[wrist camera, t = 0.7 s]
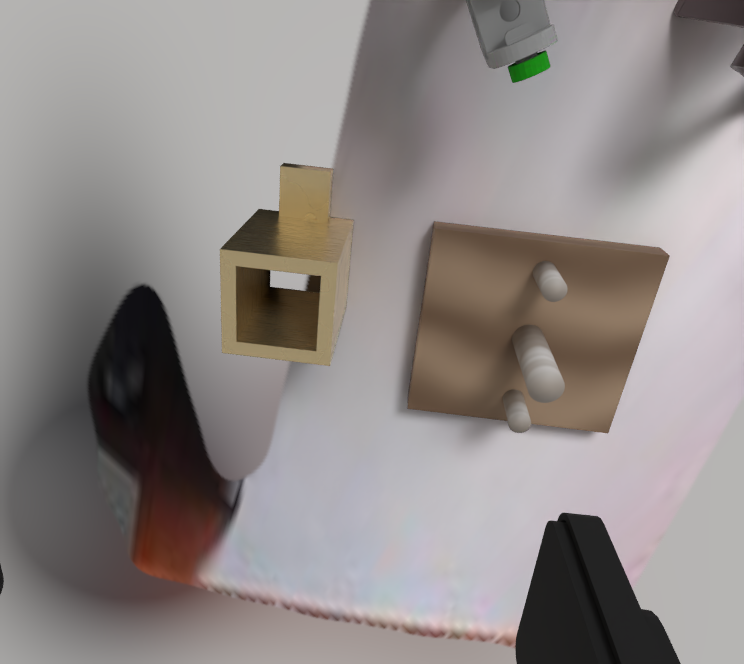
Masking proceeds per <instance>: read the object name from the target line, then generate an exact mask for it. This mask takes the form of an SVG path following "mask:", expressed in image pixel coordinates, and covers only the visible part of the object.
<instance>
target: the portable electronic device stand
mask: <svg viewBox="0 0 744 664" xmlns="http://www.w3.org/2000/svg"><path fill="white" fill-rule="evenodd" d="M674 12H675V14H676V15H677V16H678V17H684V18H690V19H696V20H702V21H708V22H714V23H720V24H726V25H732V26H738V27H744V0H679V1H678V2H677V4H676V7H675V11H674ZM731 68H732V69H734V70H735V71H737V72H739V73H740V74H741V75H742V76H744V45H743V46H742V48H741V50H740V51H739V53H738V54H737V56H736V58H735V59H734V61H733V63H732V64H731Z"/></svg>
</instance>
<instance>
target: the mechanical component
mask: <svg viewBox="0 0 744 664" xmlns="http://www.w3.org/2000/svg"><path fill="white" fill-rule="evenodd" d="M466 2H467V5H468V9H469V12H470V15H471V18H472V21H473V25H474V28H475V31H476V34H477V37H478V40H479V44H480V47H481V50H482V52H483V55H484V58H485V60H486V62H487V64H488V66H489V67H490V68H493V69H495V68H499V67H502V66H505V65H507V64H510V63H512V62H515V63H513V64H512V65H510V66H508V70H509V73H510V76H511V79H512V82H513V83H515V82H519V81H522V80H525V79H527V78H530V77H532V76H535V75H537V74H539V73H541V72H543V71H545V70H547V69H548V68H550V63H549V60H548V56H547V52H546V51H542V52H539V53H537V52H538V51H540V50H542V49H544V48H546V47H548V46H550V45H552V44H554V43H555V42H557V41H558V40H557V36H556V32H555V29H554V25H550V22H549V18H548V14H547V10H546V7H545V3H544V0H466Z"/></svg>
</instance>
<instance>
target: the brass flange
mask: <svg viewBox="0 0 744 664" xmlns="http://www.w3.org/2000/svg"><path fill="white" fill-rule="evenodd" d="M332 178H333V169H331V168H323V167H313V166H305V165H296V164H287V163H283V164H282V165H281V166H280V201H279V211H272V210H263V209H258V210H257V212H256V213H255V214H254V215H253V216H252V217H251V218H250V219H249V220H248V221H247V222H246V223H245V224H244V225H243V226H242V227H241V228H240V229H239V230H238V231H237V232H236V233H235V234H234V235H233V236H232V237H231V238H230V239H229V240H228V241H227V242H226V243H225V245H224V246H223V247H222V248H221V249H220V275H221V322H222V353H228V354H236V355H244V356H253V357H261V358H269V359H277V360H285V361H294V362H302V363H310V364H318V365H326V366H330V364H331V360H332V357H333V353H334V349H335V346H336V342H337V338H338V335H339V331H340V328H341V324H342V320H343V317H344V313H345V309H346V303H347V291H348V280H349V268H350V256H351V245H352V233H353V221H354V220H349V219H340V218H332V217H330V208H331V193H332ZM270 270H274V271H283V272H291V273H300V274H308V275H316V276H321V285H320V293H317V292H309V291H300V290H292V289H283V288H275V287H270Z"/></svg>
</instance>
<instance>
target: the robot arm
mask: <svg viewBox="0 0 744 664" xmlns="http://www.w3.org/2000/svg"><path fill="white" fill-rule="evenodd" d="M3 582H4V580H3V573H2V570H1V565H0V594H1V591H2V588H3ZM516 661H517V664H680V662H679V659H678V657H677V655H676V653H675V651H674V649H673V646H672V644H671V642H670V640H669V638H668V636H667V633H666V631H665V629H664V627H663V625H662V623H661V622H660V620H659V618H658V617H657V616H656V615H655V614H654V613H653V612H652V611H649V610H643V609H641V608H640V606H639V604H638V601H637V599H636V597H635V594H634V592H633V590H632V587H631V585H630V583H629V580H628V578H627V576H626V574H625V571H624V569H623V567H622V564H621V562H620V560H619V558H618V555H617V553H616V551H615V548H614V546H613V544H612V541H611V539H610V537H609V535H608V532H607V530H606V528H605V525H604V523H603V521H602V520H601V518H599V517H598V516H590V515H581V514H571V513H561V515H560V516H559V518H558V521H548V523H547V525H546V528H545V531H544V535H543V539H542V543H541V546H540V550H539V554H538V558H537V561H536V565H535V569H534V573H533V576H532V580H531V584H530V588H529V591H528V595H527V599H526V603H525V606H524V610H523V614H522V618H521V621H520V625H519V629H518V633H517V637H516Z"/></svg>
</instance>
